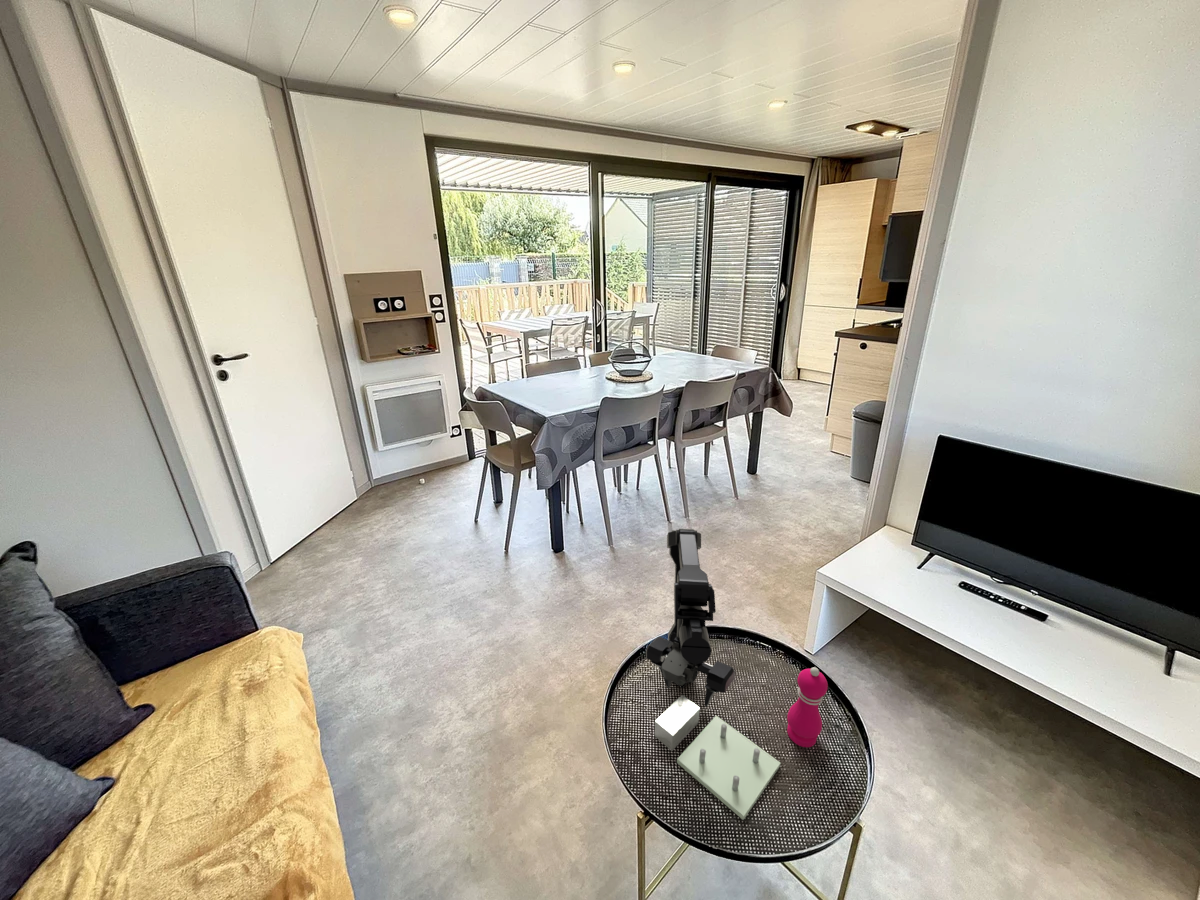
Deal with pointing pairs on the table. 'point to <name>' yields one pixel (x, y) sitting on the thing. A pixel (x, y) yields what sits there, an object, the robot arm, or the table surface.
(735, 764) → the pale green peg board
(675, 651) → the robot arm
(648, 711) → the table surface
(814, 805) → the table surface
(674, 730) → the block
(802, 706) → the pepper mill
